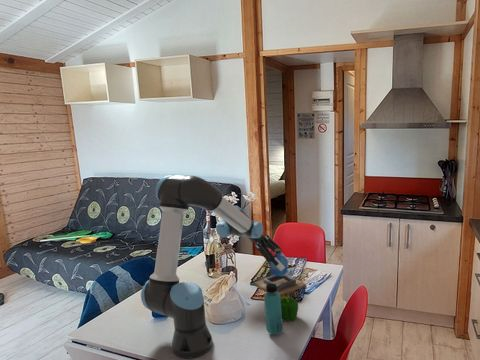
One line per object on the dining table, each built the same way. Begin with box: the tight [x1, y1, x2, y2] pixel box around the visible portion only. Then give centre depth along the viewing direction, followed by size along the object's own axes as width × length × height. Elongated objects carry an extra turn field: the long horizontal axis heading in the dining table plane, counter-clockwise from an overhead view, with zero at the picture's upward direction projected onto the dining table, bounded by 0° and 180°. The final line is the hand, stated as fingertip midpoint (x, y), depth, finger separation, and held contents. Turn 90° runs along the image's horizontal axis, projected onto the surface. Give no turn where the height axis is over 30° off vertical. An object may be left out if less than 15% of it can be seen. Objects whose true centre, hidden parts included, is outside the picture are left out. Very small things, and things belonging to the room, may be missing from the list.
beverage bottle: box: [263, 283, 284, 335], centre depth 141 cm, size 6×7×20 cm
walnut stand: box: [253, 273, 307, 297], centre depth 180 cm, size 18×18×4 cm
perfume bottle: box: [269, 248, 289, 277], centre depth 179 cm, size 6×6×12 cm
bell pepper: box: [280, 295, 299, 322], centre depth 151 cm, size 8×8×10 cm
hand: (285, 266), depth 178 cm, fingers closed on perfume bottle, 7 cm apart
